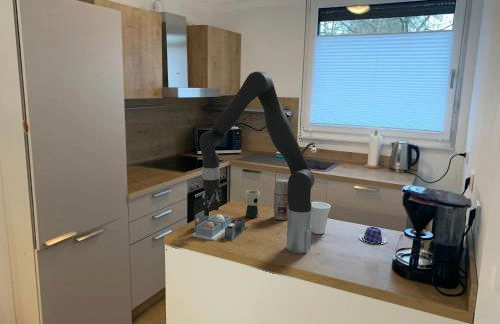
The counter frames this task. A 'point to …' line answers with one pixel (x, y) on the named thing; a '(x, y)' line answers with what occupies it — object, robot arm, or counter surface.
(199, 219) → the card
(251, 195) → the character mug
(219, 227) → the rack
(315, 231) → the cup
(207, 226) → the terracotta ball
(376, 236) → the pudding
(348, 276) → the counter surface
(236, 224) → the post stand
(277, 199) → the spray can
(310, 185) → the robot arm
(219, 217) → the cream ball
